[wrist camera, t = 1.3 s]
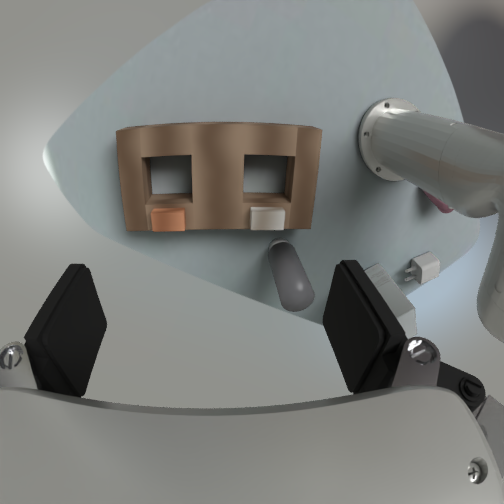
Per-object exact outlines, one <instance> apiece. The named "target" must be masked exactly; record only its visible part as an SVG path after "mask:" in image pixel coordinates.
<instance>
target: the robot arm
mask: <svg viewBox="0 0 504 504" xmlns="http://www.w3.org/2000/svg"><path fill="white" fill-rule="evenodd" d="M384 104H385V106H384ZM364 132H365V135H364ZM359 148H360V153H361V155H362V158H363V160H364V162H365V164H366V165H367V167H368V168H369V169H370V170H371V171H372V172H373V173H375V174H376V175H377V176H379V177H381V178H383V179H385V180H388V181H402V180H405V179H406V180H407V181H409V182H411V183H412V184H414V185H416V186H418V187H419V188H421V189H423V190H424V191H426V192H427V193H429V194H431V195H432V196H434V197H435V198H437V199H439V200H440V201H442V202H443V203H445V204H446V205H448V206H449V207H451V208H452V209H454V210H456V211H457V212H459V213H460V214H462V215H464V216H467V217H471V218H482V217H487V216H490V215H493V214H496V213H499V219H498V225H497V230H496V236H495V240H494V243H493V247H492V250H491V253H490V257H489V260H488V263H487V266H486V269H485V272H484V275H483V278H482V281H481V284H480V287H479V291H478V296H477V311H478V315H479V318H480V320H481V322H482V324H483V325H484V327H485V328H486V329H487V330H488V331H489V332H490V333H491V334H492V335H493V336H494V337H495V338H497V339H498V340H500V341H501V342H503V343H504V134H501V133H497V132H494V131H490V130H487V129H484V128H481V127H477V126H474V125H470V124H466V123H462V122H459V121H455V120H451V119H447V118H443V117H438V116H434V115H429V114H424V113H421V112H420V111H419V109H418V108H417V107H416V106H414V105H413V104H412V103H410V102H408V101H406V100H403V99H398V98H387V99H383V100H380V101H378V102H376V103H375V104H374V105H372V106H371V107H370V108H369V110H368V111H367V112H366V114H365V115H364V117H363V119H362V122H361V125H360V129H359ZM376 168H377V169H376ZM323 325H324V328H325V331H326V333H327V336H328V338H329V341H330V343H331V346H332V348H333V351H334V353H335V356H336V359H337V361H338V363H339V366H340V369H341V372H342V374H343V377H344V379H345V382H346V385H347V388H348V390H349V391H350V392H353V393H354V394H353V395H348V396H342V397H336V398H329V399H323V400H317V401H310V402H302V403H294V404H285V405H274V406H262V407H245V408H216V409H215V408H214V409H199V408H165V407H150V406H139V405H128V404H120V403H112V402H104V401H97V400H91V399H85V398H81V396H83V395H84V394H85V392H86V388H87V385H88V382H89V379H90V375H91V372H92V369H93V366H94V363H95V360H96V357H97V353H98V351H99V348H100V345H101V342H102V339H103V337H104V334H105V331H106V328H107V321H106V318H105V315H104V312H103V310H102V306H101V304H100V301H99V298H98V295H97V291H96V288H95V285H94V282H93V279H92V275H91V272H90V270H89V268H86V266H85V265H84V264H70V265H69V266H68V268H67V269H66V271H65V272H64V274H63V275H62V276H61V278H60V279H59V281H58V282H57V284H56V286H55V287H54V288H53V290H52V291H51V293H50V294H49V296H48V298H47V299H46V301H45V302H44V304H43V306H42V307H41V309H40V310H39V312H38V314H37V315H36V317H35V319H34V320H33V322H32V324H31V326H30V327H29V329H28V331H27V333H26V334H25V336H24V338H25V340H26V343H25V345H23V344H22V343H20V342H11V343H8V344H7V345H5V346H4V347H3V348H2V349H1V350H0V504H504V483H503V480H502V478H503V476H504V406H503V405H502V404H501V403H499V402H498V401H497V400H495V399H494V398H493V397H492V396H490V395H488V396H487V397H486V396H485V389H484V386H483V384H482V383H481V381H480V380H479V379H478V378H476V377H475V376H473V375H471V374H468V373H466V372H464V371H461V370H459V369H457V368H455V367H452V366H450V365H448V364H445V363H443V362H441V361H440V359H441V358H440V352H439V350H438V348H437V347H436V345H435V344H434V343H432V342H431V341H430V340H428V339H426V338H422V337H412V338H409V339H408V338H407V337H406V335H405V333H406V332H405V331H404V329H403V328H402V326H401V324H400V323H399V321H398V320H397V318H396V317H395V315H394V314H393V312H392V311H391V309H390V308H389V306H388V305H387V303H386V302H385V300H384V299H383V297H382V296H381V294H380V293H379V291H378V290H377V288H376V287H375V285H374V284H373V283H372V281H371V280H370V278H369V277H368V276H367V274H366V273H365V271H364V270H363V268H362V267H361V266H360V264H359V263H358V262H357V261H356V260H342V261H341V262H340V264H337V265H336V267H335V271H334V275H333V279H332V284H331V288H330V292H329V296H328V300H327V304H326V307H325V311H324V315H323Z"/></svg>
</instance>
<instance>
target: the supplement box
mask: <svg viewBox="0 0 504 504" xmlns="http://www.w3.org/2000/svg"><path fill="white" fill-rule="evenodd" d="M365 273H366V274H367V276H368V277H369V278H370V280H371V281H372V283H373V284H374V285H375V287H376V288H377V290H378V291H379V293H380V294H381V296H382V297H383V299H384V300H385V302H386V303H387V305H388V306H389V308H390V309H391V311H392V312H393V314H394V315H395V317H396V318H397V320H398V321H399V323H400V324H401V326H402V328H403V329H404V331H405V332H406V333H405V335H406V337H407V338H408V339H409V338H411V337H413V336H414V335H416V334H417V328H416V314H415V307H414V306H413V305H412V304H411V302H410V301H409V300H408V299H407V297H406V296H405V295H404V293H403V292H402V291H401V290H400V288H399V287H398V286H397V284H396V283H395V282H394V281H393V279H392V278H391V277H390V276H389V275H388V273H387V272H386V271H385V270H384V269H383V268H382V266H381V265H380V264H379V263H377V264H375V265H374V266H372V267H370V268H368V269H367V270H365Z"/></svg>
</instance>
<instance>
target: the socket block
mask: <svg viewBox="0 0 504 504" xmlns="http://www.w3.org/2000/svg"><path fill="white" fill-rule="evenodd" d="M321 138H322V130H321V129H318V128H315V127H312V126H302V125H290V124H275V123H254V122H192V123H171V124H157V125H145V126H135V127H126V128H123V129H120V130H118V131H116V139H117V154H118V166H119V176H120V185H121V194H122V202H123V209H124V216H125V223H126V229H127V231H149V230H153V232H159V231H185V230H194V229H251V230H284V229H311V222H312V215H313V207H314V200H315V192H316V184H317V176H318V167H319V158H320V148H321ZM244 154H254V155H281V156H288V157H287V170H286V182H285V193H243V174H244ZM172 155H192V193H175V194H152V185H151V172H150V157H154V156H172Z"/></svg>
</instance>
